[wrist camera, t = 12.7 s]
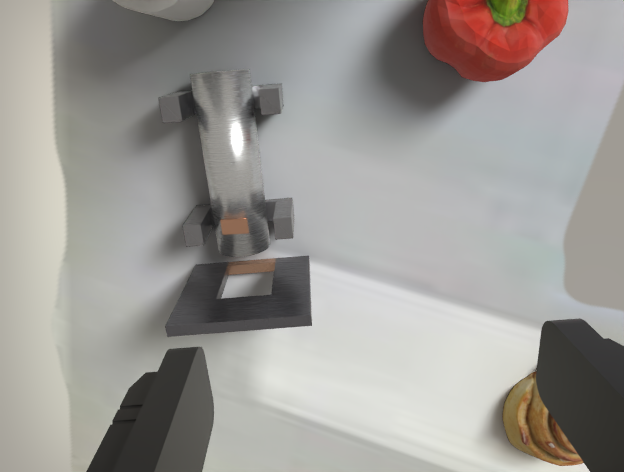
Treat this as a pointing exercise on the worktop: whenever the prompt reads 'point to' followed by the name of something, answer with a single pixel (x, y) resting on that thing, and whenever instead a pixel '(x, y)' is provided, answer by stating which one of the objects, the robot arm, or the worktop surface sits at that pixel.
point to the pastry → (535, 426)
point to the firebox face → (243, 299)
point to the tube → (232, 160)
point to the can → (168, 8)
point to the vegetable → (491, 34)
